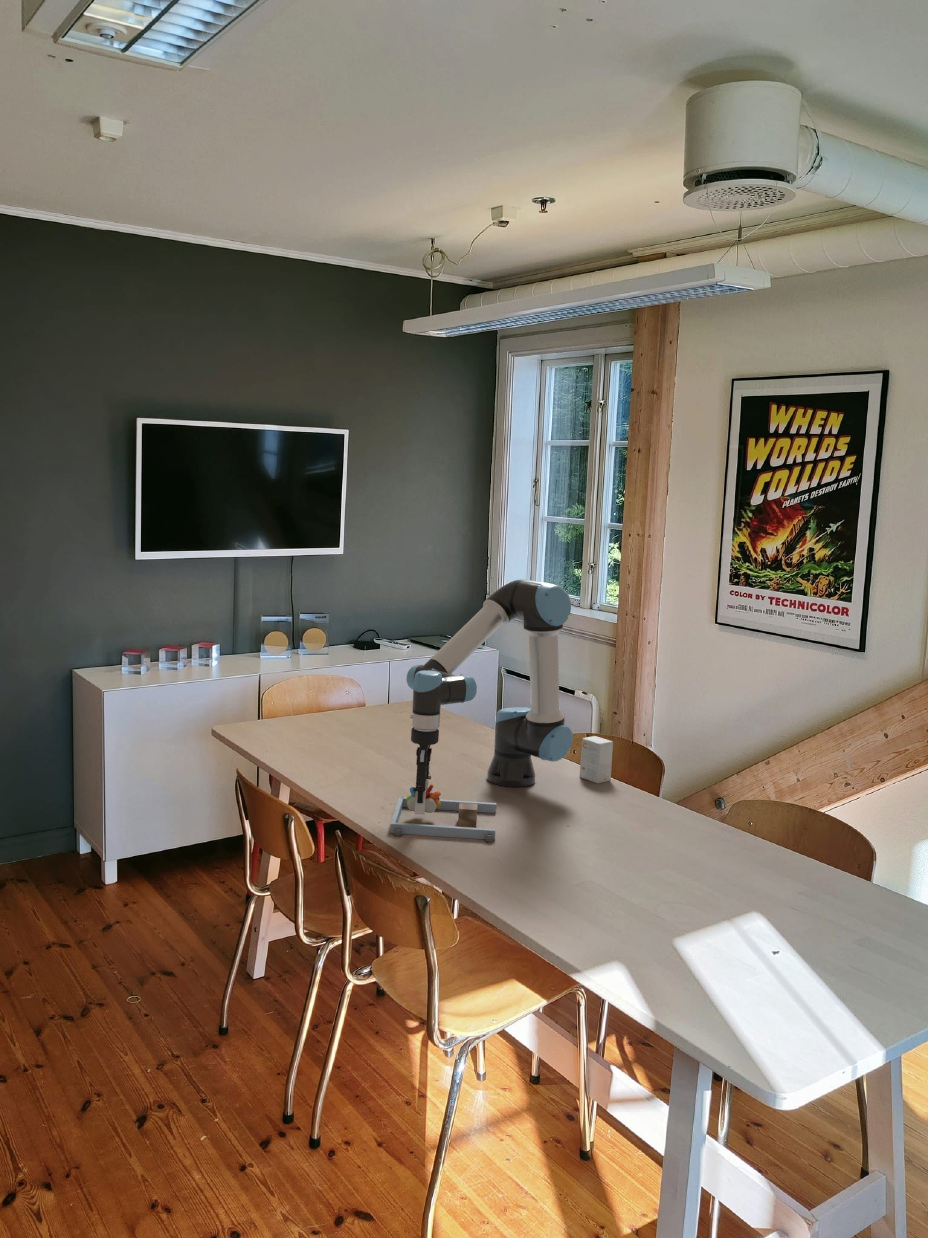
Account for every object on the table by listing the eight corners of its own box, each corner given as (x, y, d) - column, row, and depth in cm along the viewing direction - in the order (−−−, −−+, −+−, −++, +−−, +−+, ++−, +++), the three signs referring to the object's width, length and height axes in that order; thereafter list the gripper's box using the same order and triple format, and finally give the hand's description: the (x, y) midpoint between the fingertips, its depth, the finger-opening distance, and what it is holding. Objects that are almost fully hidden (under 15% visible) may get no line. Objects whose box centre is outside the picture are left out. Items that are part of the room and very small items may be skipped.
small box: (610, 780, 323) (613, 741, 321) (597, 784, 319) (600, 744, 317) (592, 774, 329) (595, 735, 327) (578, 777, 325) (581, 737, 323)
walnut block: (476, 821, 280) (477, 804, 279) (476, 827, 275) (477, 810, 274) (458, 820, 280) (459, 803, 279) (457, 826, 275) (458, 808, 274)
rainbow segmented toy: (438, 815, 272) (439, 789, 271) (402, 812, 273) (404, 786, 272) (442, 806, 281) (444, 780, 280) (408, 802, 282) (409, 777, 281)
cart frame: (496, 809, 290) (496, 800, 290) (494, 843, 264) (495, 833, 263) (399, 802, 291) (400, 794, 291) (388, 836, 265) (389, 826, 264)
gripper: (415, 717, 285) (411, 795, 288) (407, 737, 263) (403, 820, 267) (441, 719, 284) (437, 796, 288) (436, 739, 263) (431, 822, 266)
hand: (421, 808), depth 277 cm, fingers closed on rainbow segmented toy, 9 cm apart
